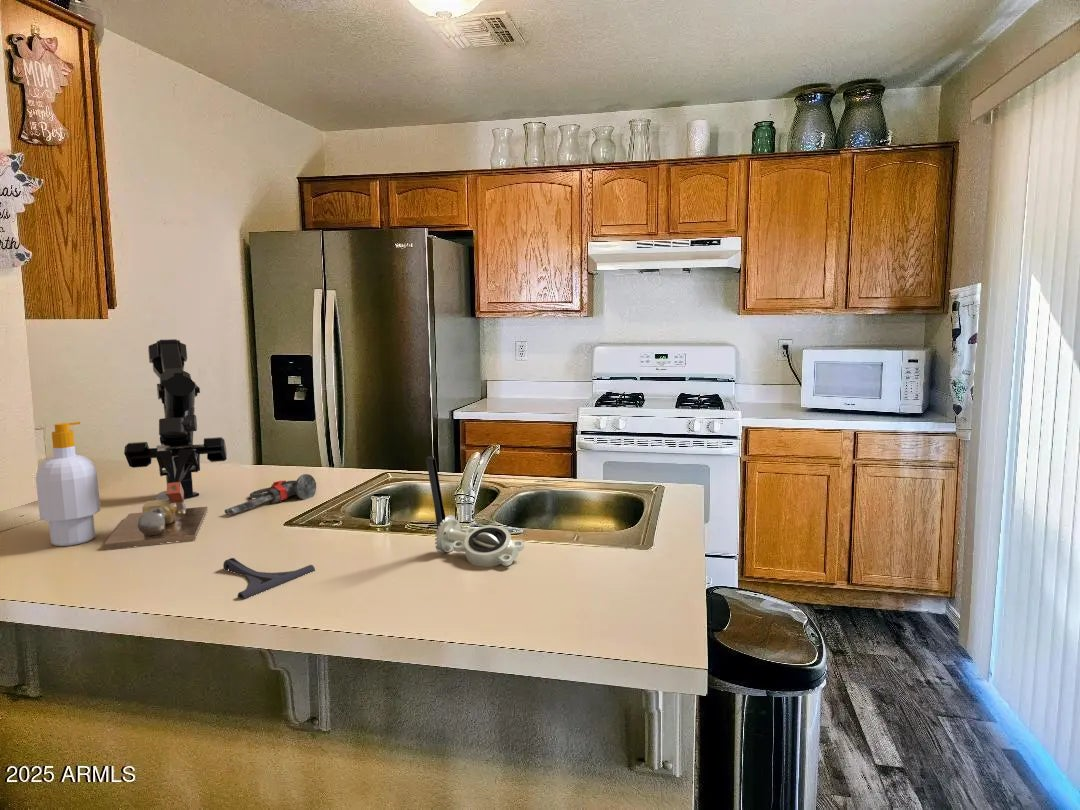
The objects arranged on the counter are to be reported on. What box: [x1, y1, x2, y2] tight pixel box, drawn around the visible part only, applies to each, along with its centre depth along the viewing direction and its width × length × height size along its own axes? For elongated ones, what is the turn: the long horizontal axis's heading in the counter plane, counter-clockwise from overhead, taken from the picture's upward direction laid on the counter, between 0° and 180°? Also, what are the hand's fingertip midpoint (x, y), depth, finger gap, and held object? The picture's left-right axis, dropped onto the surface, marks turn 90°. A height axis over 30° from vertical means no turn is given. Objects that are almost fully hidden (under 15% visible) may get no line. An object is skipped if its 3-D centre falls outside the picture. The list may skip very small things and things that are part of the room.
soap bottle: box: [35, 421, 101, 547], centre depth 139 cm, size 10×10×24 cm
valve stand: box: [103, 490, 209, 551], centre depth 147 cm, size 22×16×6 cm
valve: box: [224, 473, 317, 516], centre depth 169 cm, size 6×26×15 cm
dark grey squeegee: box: [222, 557, 316, 600], centre depth 121 cm, size 14×15×3 cm
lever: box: [166, 482, 187, 514], centre depth 145 cm, size 2×2×12 cm
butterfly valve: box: [425, 456, 525, 568], centre depth 126 cm, size 9×20×17 cm
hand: (175, 486), depth 142 cm, fingers closed, pressing on lever
